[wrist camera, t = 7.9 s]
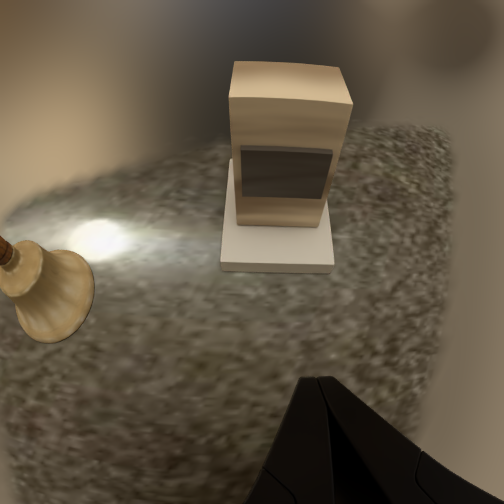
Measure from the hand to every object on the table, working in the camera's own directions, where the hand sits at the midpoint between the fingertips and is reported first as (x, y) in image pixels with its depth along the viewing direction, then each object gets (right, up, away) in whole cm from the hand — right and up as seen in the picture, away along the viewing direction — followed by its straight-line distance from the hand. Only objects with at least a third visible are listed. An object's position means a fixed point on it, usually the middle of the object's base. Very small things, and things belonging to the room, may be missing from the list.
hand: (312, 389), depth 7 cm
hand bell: (-18, 0, +15) cm, 23 cm away
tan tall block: (0, +7, +17) cm, 18 cm away
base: (0, +6, +19) cm, 20 cm away
